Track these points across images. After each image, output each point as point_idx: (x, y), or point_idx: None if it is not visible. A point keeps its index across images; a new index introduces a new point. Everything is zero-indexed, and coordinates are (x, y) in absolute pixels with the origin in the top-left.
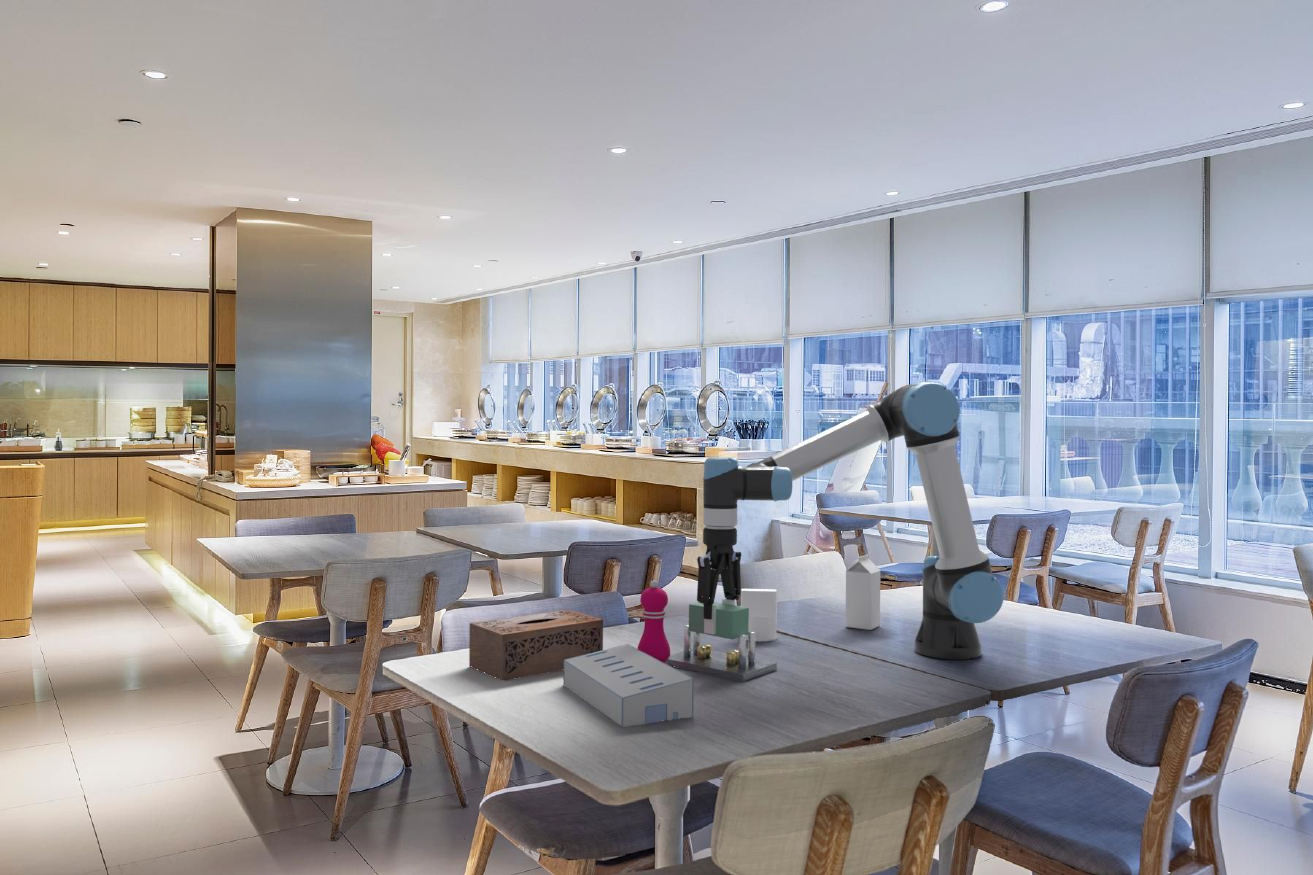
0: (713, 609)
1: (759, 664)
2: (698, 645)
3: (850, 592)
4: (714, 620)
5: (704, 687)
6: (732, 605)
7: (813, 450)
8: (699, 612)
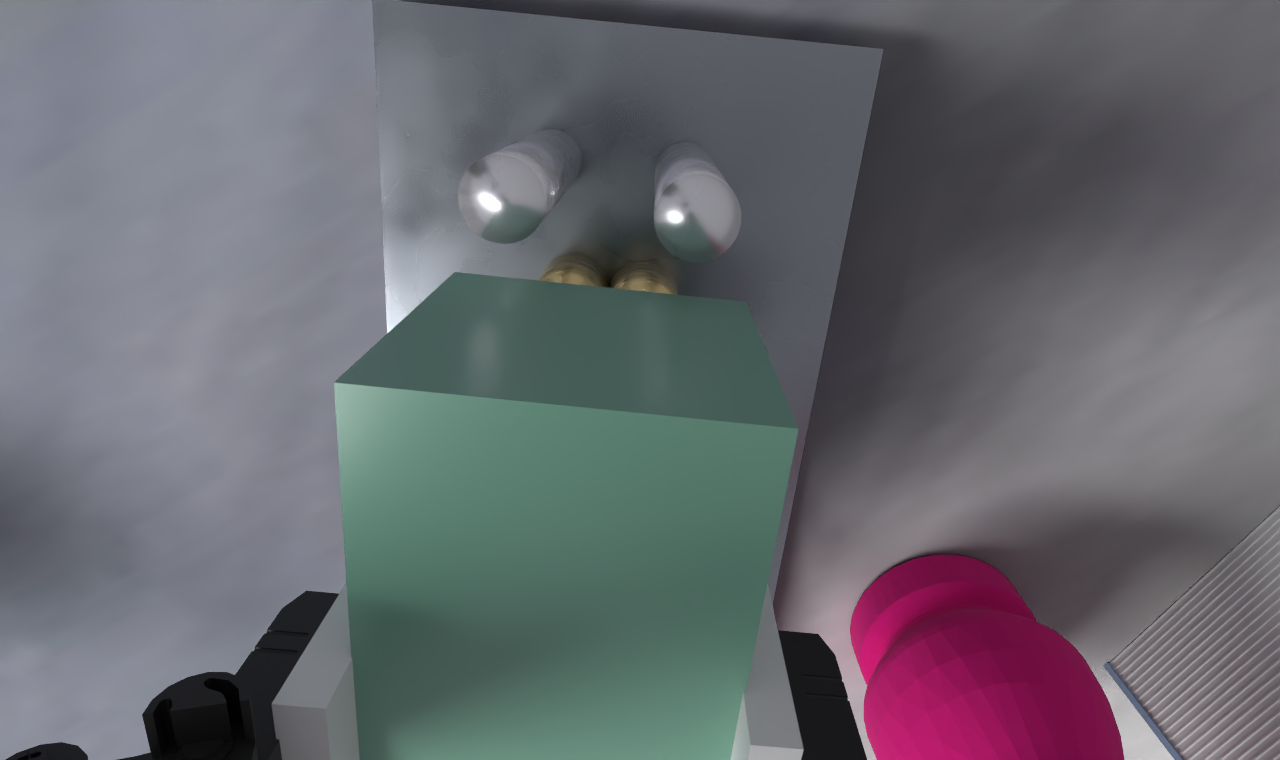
0: (787, 702)
1: (515, 102)
2: None
3: None
4: None
5: (1138, 211)
6: (369, 641)
7: None
8: None
